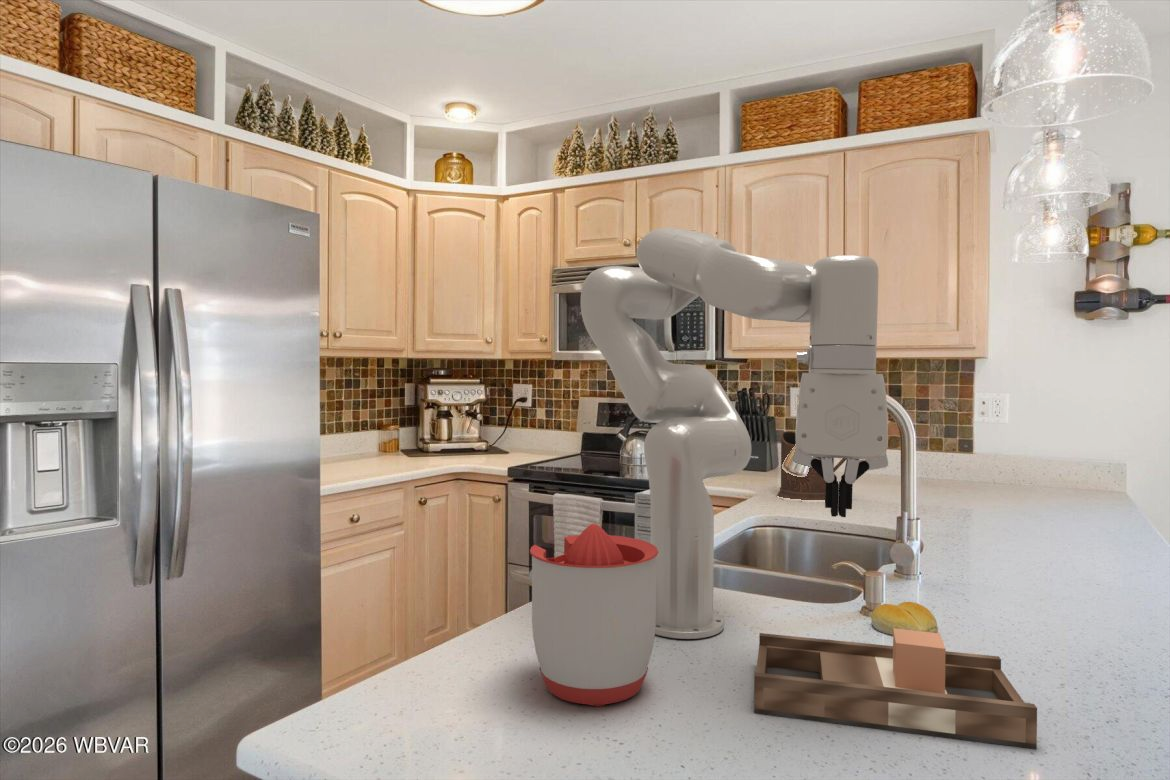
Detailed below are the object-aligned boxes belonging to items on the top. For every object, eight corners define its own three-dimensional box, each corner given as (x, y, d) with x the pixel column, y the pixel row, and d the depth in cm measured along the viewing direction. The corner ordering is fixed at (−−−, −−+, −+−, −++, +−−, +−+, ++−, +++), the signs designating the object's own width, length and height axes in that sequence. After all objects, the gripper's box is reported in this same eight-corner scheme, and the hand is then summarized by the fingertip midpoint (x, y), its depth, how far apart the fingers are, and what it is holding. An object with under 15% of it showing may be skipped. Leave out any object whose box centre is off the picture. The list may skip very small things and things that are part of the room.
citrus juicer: (575, 648, 99) (575, 505, 99) (682, 682, 88) (683, 521, 88) (492, 685, 87) (492, 523, 87) (605, 731, 76) (605, 544, 76)
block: (895, 687, 80) (895, 642, 80) (892, 670, 85) (893, 628, 85) (945, 693, 79) (945, 648, 78) (939, 676, 83) (939, 633, 83)
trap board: (754, 712, 80) (754, 675, 80) (759, 664, 94) (759, 632, 94) (1036, 749, 73) (1037, 708, 73) (998, 690, 86) (998, 656, 86)
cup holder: (797, 491, 238) (798, 415, 237) (866, 500, 219) (867, 419, 219) (764, 497, 226) (764, 418, 225) (833, 507, 207) (834, 421, 207)
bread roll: (861, 622, 111) (861, 597, 111) (915, 620, 112) (915, 594, 112) (890, 642, 103) (891, 614, 103) (948, 639, 104) (948, 611, 104)
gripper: (776, 360, 84) (772, 516, 84) (915, 362, 79) (910, 526, 80) (778, 361, 91) (774, 504, 91) (905, 362, 86) (901, 513, 87)
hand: (838, 514), depth 86 cm, fingers closed
